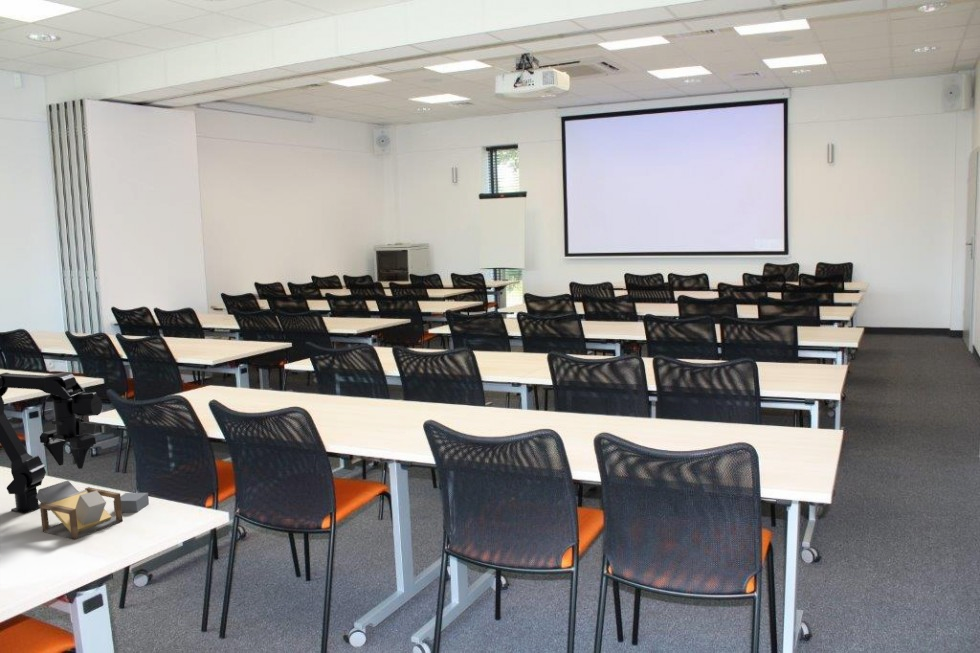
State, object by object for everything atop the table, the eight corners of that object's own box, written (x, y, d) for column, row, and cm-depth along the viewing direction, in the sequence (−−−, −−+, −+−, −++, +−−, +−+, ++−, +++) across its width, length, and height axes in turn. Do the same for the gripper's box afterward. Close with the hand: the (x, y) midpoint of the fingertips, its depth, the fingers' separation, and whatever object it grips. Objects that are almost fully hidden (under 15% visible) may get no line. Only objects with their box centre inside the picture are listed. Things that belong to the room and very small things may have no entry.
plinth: (114, 512, 243) (113, 500, 243) (126, 504, 250) (125, 492, 250) (137, 512, 243) (136, 500, 242) (149, 503, 250) (147, 492, 249)
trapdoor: (31, 499, 233) (34, 488, 231) (70, 486, 243) (73, 476, 242) (69, 541, 227) (73, 530, 225) (107, 526, 237) (111, 516, 235)
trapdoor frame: (42, 531, 229) (39, 503, 228) (91, 514, 242) (88, 487, 241) (74, 539, 223) (71, 510, 222) (122, 521, 236) (120, 493, 235)
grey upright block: (73, 513, 230) (79, 495, 228) (90, 508, 234) (96, 490, 232) (82, 525, 228) (89, 507, 226) (99, 520, 232) (106, 502, 230)
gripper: (109, 412, 246) (114, 462, 248) (70, 407, 255) (75, 456, 257) (75, 420, 237) (81, 473, 239) (36, 415, 246) (41, 466, 248)
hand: (70, 466), depth 246 cm, fingers open, 9 cm apart
